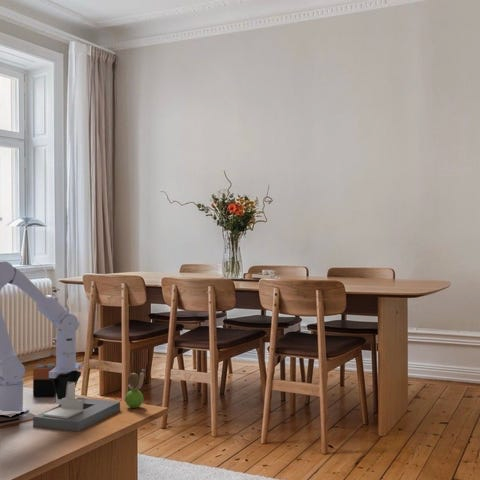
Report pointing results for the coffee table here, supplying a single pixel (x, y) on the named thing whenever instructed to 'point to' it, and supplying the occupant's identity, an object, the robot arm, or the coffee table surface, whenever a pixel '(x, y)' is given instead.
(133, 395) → the snail figurine
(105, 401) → the socket plate
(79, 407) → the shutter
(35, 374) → the battery
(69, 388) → the plug
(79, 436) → the coffee table surface
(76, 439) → the coffee table surface
